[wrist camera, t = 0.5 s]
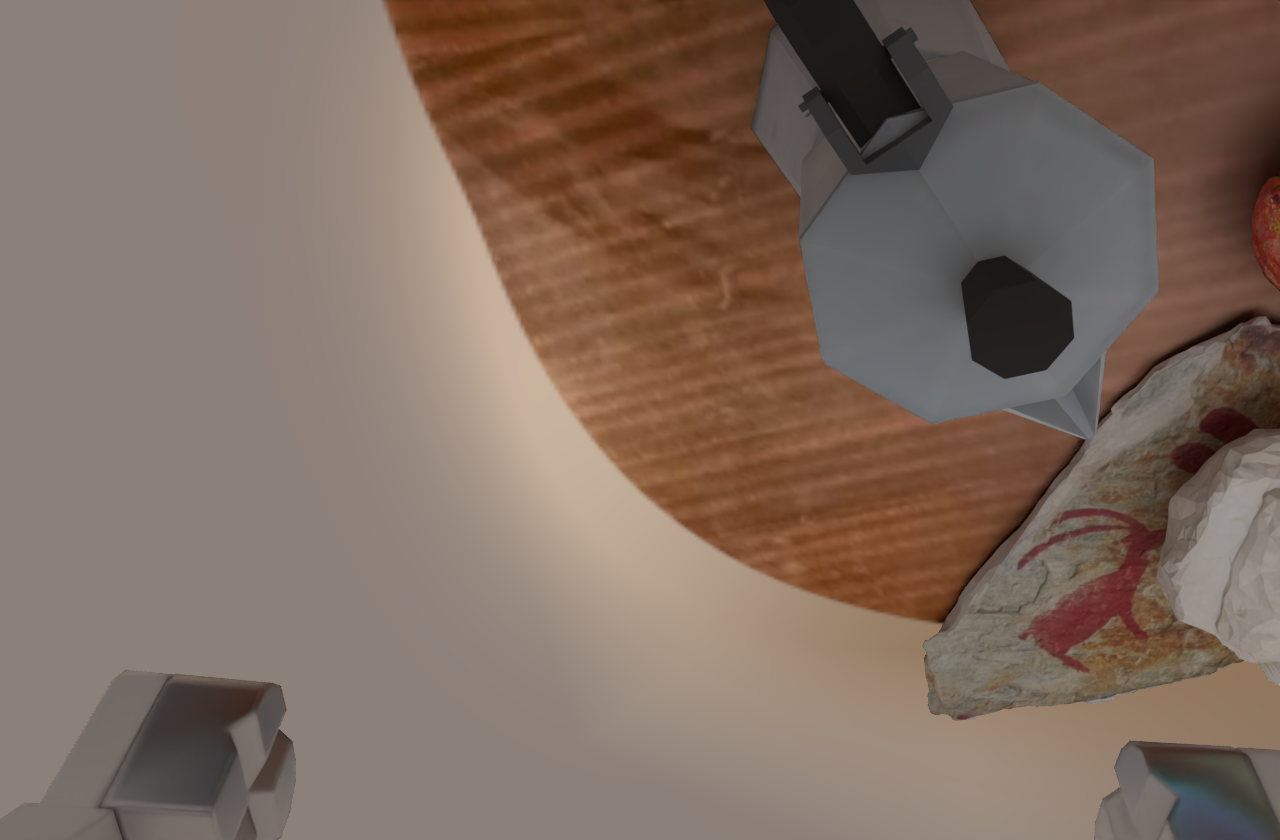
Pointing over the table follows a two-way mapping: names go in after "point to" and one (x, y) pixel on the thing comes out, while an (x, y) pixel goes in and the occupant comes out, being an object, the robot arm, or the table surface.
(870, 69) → the coffee maker
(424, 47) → the table surface
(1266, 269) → the red radish
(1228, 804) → the robot arm
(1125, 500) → the stone artifact
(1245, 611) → the fossil replica
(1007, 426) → the table surface
